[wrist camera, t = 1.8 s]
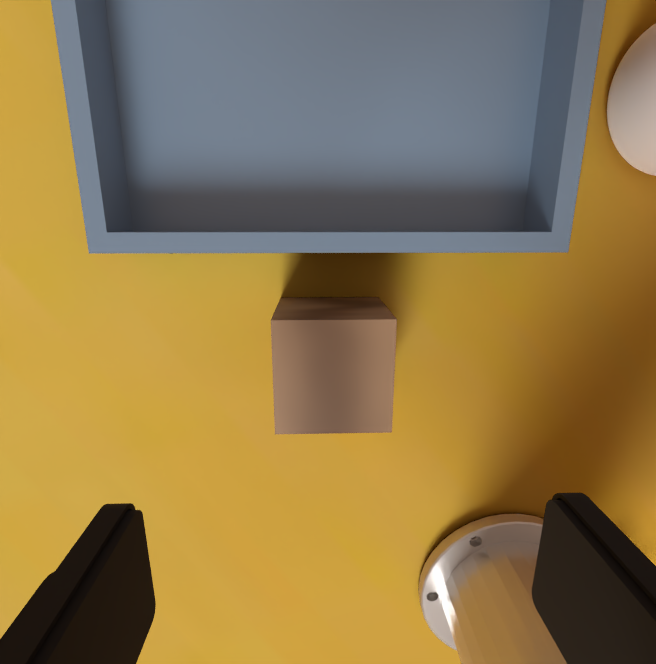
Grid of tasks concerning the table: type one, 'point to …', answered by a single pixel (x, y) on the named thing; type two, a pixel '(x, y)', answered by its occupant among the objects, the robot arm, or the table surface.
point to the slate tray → (328, 123)
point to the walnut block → (333, 365)
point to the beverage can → (635, 104)
